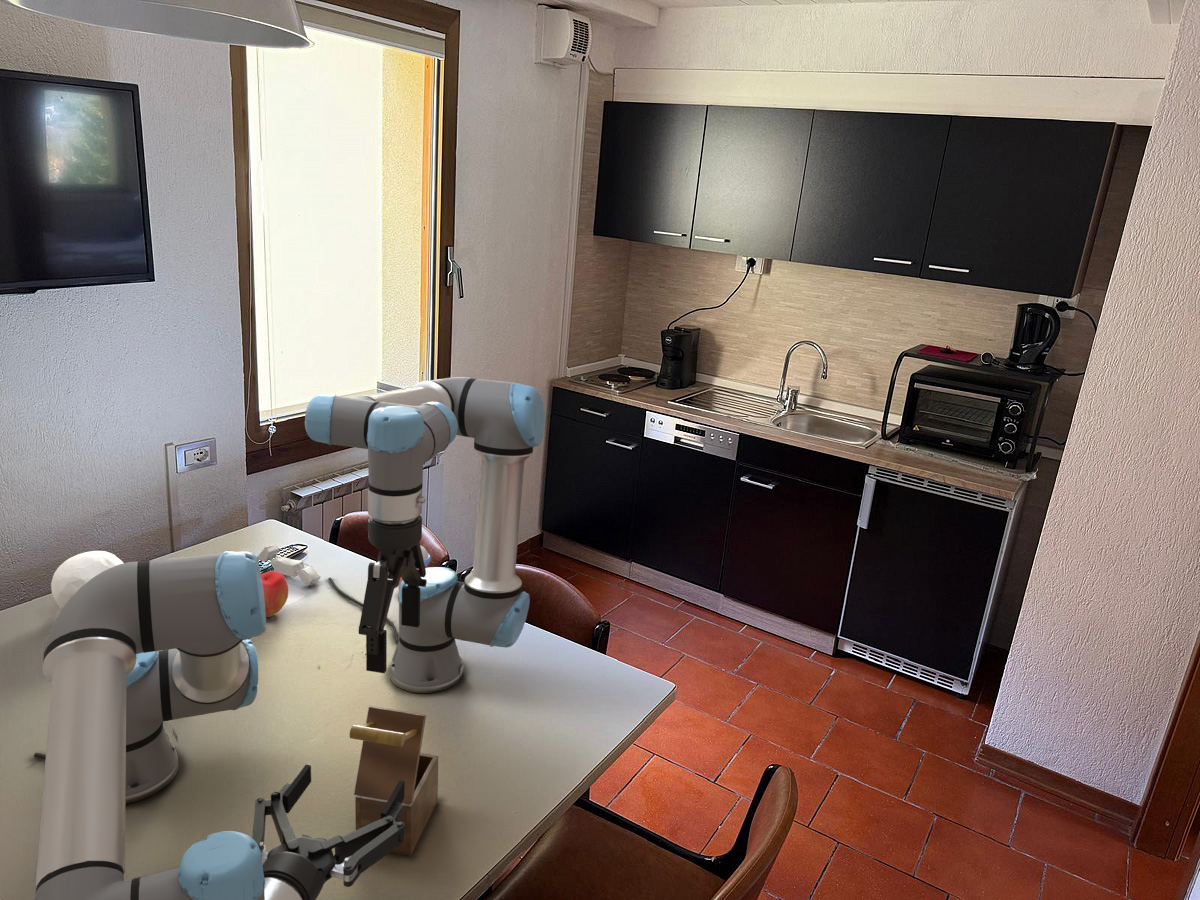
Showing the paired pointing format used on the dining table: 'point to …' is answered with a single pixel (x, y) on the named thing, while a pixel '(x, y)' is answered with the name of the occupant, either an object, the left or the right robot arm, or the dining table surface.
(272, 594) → the apple
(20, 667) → the dining table surface
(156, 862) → the dining table surface
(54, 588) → the skull
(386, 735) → the lid
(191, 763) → the dining table surface
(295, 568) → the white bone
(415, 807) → the chest
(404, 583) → the right robot arm
